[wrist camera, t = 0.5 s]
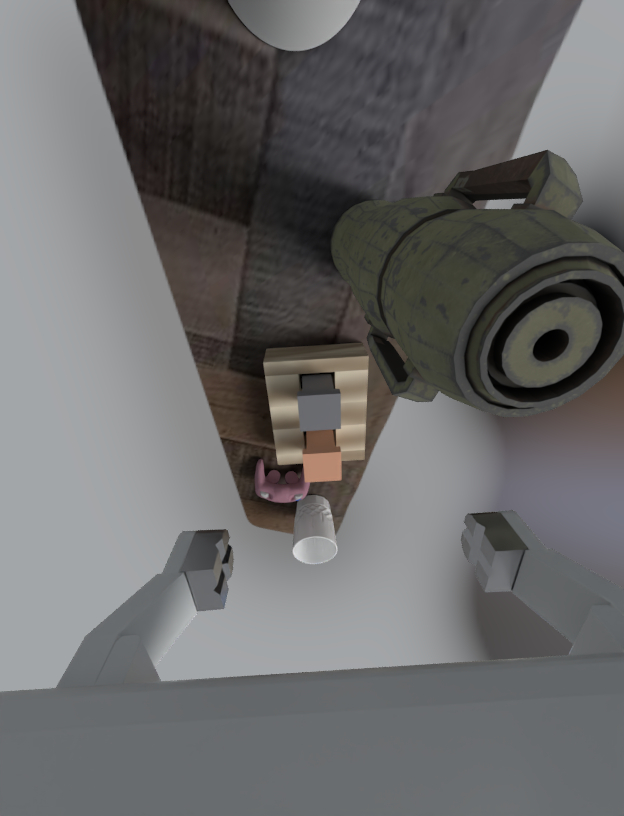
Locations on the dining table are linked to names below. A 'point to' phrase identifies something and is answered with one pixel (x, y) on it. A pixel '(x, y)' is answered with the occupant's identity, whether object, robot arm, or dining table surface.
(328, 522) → the white cup
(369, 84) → the dining table surface
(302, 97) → the dining table surface
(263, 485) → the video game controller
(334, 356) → the socket block
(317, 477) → the terracotta plug
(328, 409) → the charcoal plug
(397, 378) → the thermos
